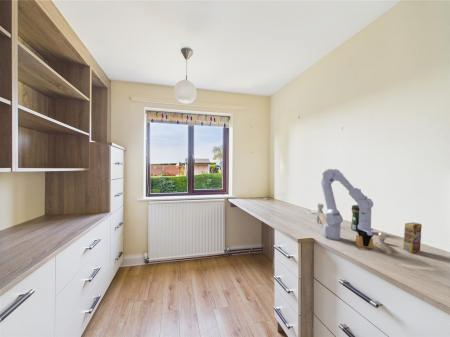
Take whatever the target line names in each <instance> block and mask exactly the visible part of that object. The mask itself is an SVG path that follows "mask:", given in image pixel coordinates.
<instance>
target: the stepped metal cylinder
mask: <svg viewBox="0 0 450 337" xmlns="http://www.w3.org/2000/svg"><path fill="white" fill-rule="evenodd" d="M386 236H387V233H385V232H383V231H382V232H381V231H379V232H378V237H377V238H378V242H379V244H384V245H385V240H386V238H387V237H386Z"/></svg>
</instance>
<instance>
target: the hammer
mask: <svg viewBox="0 0 450 337" xmlns="http://www.w3.org/2000/svg"><path fill="white" fill-rule="evenodd" d="M316 206H317V209H316V223H317V224H321V225H322V227H323V226H324V224H327V222H326V215H325V214H324V211H323V208H324V203H323V202H320V203H319V202H318V203H317V205H316Z"/></svg>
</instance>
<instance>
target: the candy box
mask: <svg viewBox="0 0 450 337" xmlns="http://www.w3.org/2000/svg"><path fill="white" fill-rule="evenodd" d="M422 225H423V224H421V223H419V222H407V223H404V231H403V232H404V235H403V245H402V246H403V250H404V251H406V252H407V253H410V254H413V253H417V252H420V251H421V243H422V242H421V241H422V240H421V239H422V227H423V226H422Z"/></svg>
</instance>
